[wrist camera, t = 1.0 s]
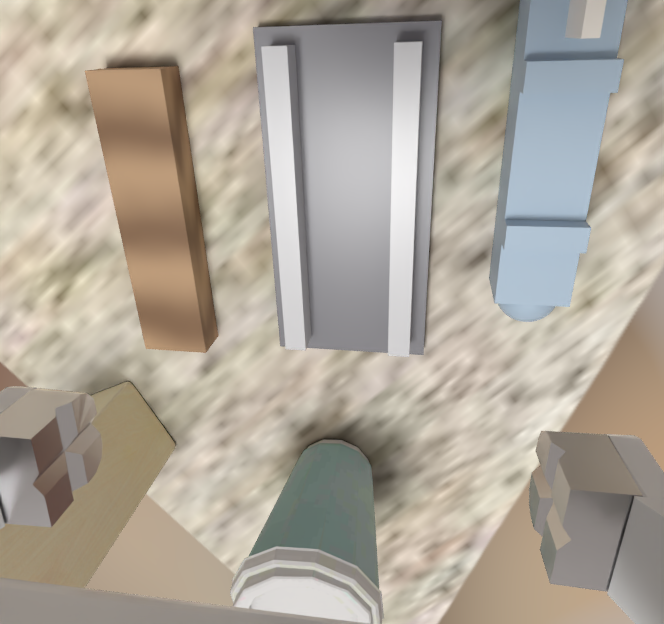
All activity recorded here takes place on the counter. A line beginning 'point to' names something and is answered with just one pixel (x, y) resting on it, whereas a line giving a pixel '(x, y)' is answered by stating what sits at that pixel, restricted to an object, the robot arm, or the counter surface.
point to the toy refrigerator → (94, 497)
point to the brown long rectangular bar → (156, 202)
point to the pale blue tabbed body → (552, 149)
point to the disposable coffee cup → (318, 542)
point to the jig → (350, 180)
